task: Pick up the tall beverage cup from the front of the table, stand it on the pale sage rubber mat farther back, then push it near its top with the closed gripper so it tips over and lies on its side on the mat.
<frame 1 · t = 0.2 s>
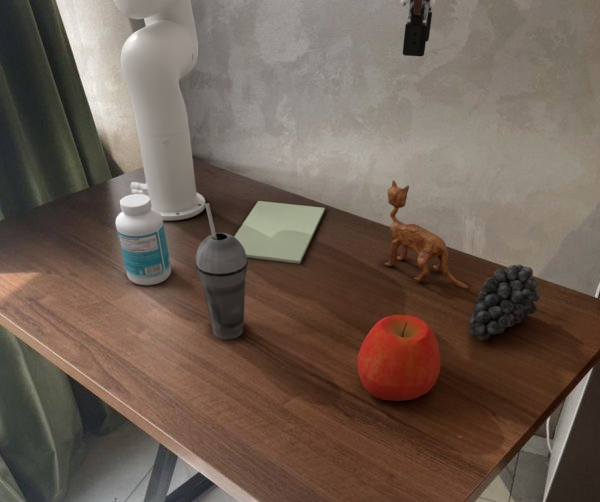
hand: (415, 47, 94), 31 cm above the table, tool pointing down, fingers open, 9 cm apart
pill bottle: (150, 276, 103), on the table
mat: (277, 231, 115), on the table
fruit: (491, 325, 93), on the table
apple: (394, 387, 82), on the table
cat figurine: (422, 275, 104), on the table
beverage cup: (228, 331, 91), on the table
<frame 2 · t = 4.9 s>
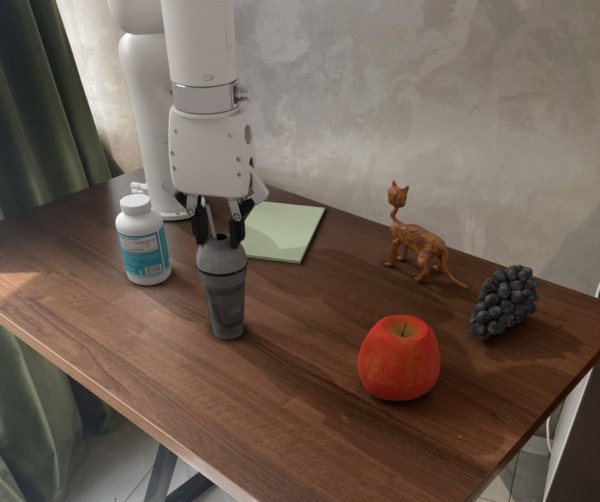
hand: (219, 240, 81), 15 cm above the table, tool pointing down, fingers closed on beverage cup, 4 cm apart
beverage cup: (228, 331, 91), on the table, touching gripper
everything else where it was.
when the fingers open (15 cm above the table, at t = 11.7 s): beverage cup stays where it is, resting on mat.
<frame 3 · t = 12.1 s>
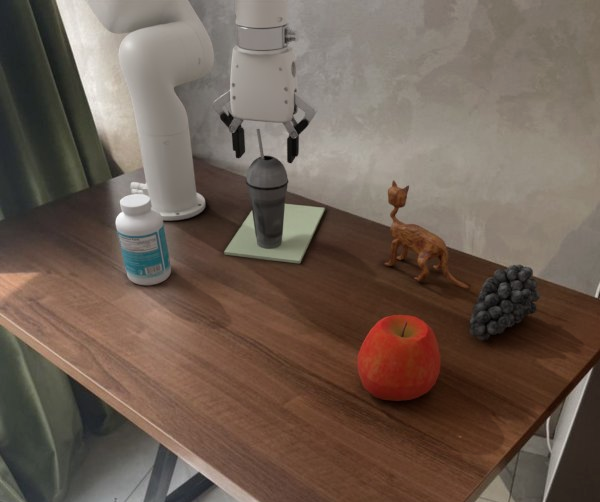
hand: (265, 157, 100), 16 cm above the table, tool pointing down, fingers open, 8 cm apart
beverage cup: (269, 243, 110), resting on mat
everything else where it was.
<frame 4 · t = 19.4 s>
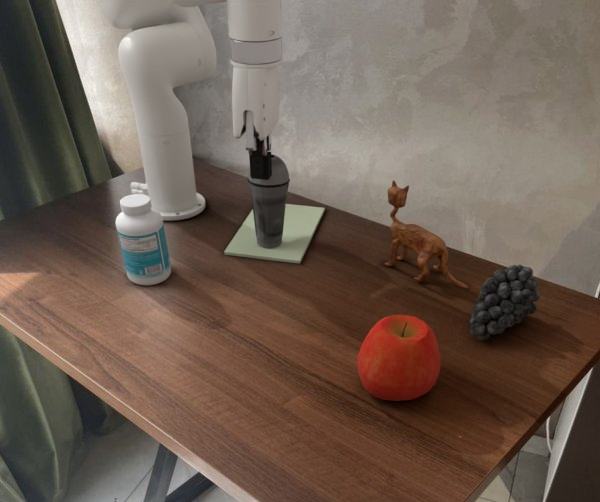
hand: (261, 177, 99), 14 cm above the table, tool pointing down, fingers closed
beverage cup: (269, 243, 110), point 1 cm above the table, touching gripper, mat
everything else where it was.
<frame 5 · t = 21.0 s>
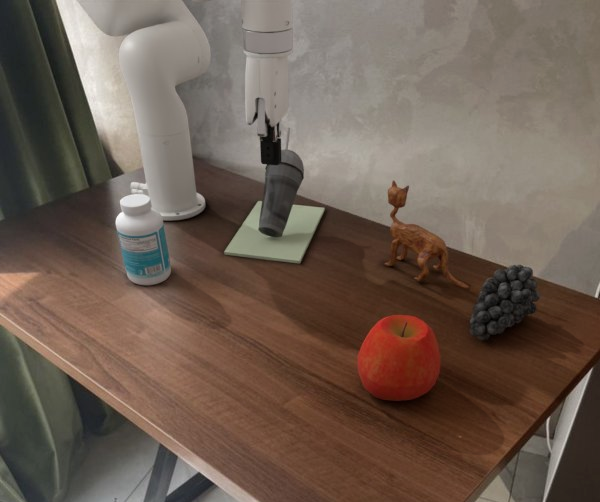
hand: (271, 162, 103), 14 cm above the table, tool pointing down, fingers closed
beverage cup: (270, 233, 110), point 2 cm above the table, touching mat
everything else where it was.
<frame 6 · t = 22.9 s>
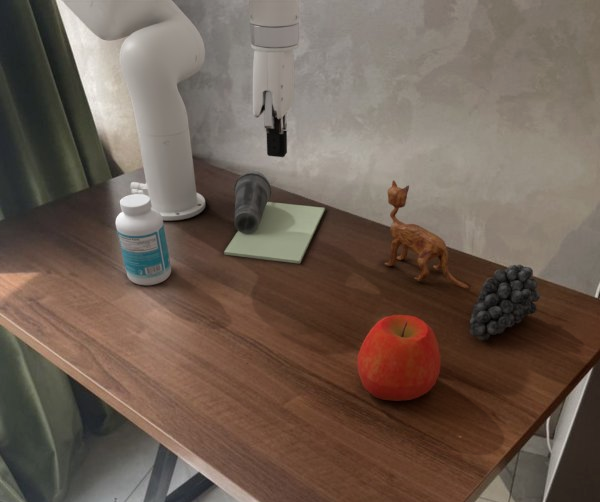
hand: (277, 154, 106), 14 cm above the table, tool pointing down, fingers closed
beverage cup: (246, 224, 111), point 3 cm above the table, touching mat
everything else where it was.
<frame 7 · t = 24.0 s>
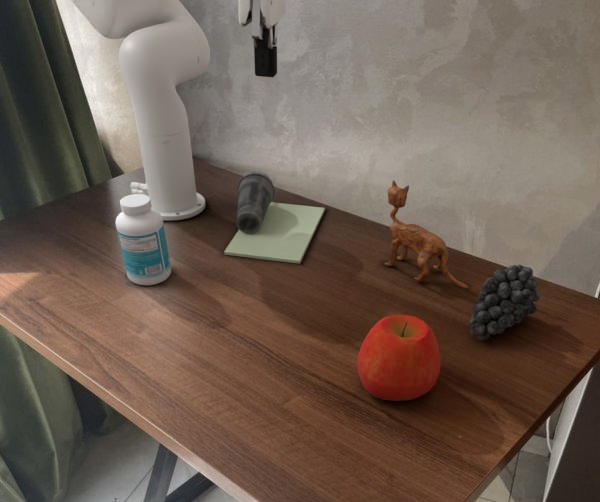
hand: (266, 75, 95), 28 cm above the table, tool pointing down, fingers closed
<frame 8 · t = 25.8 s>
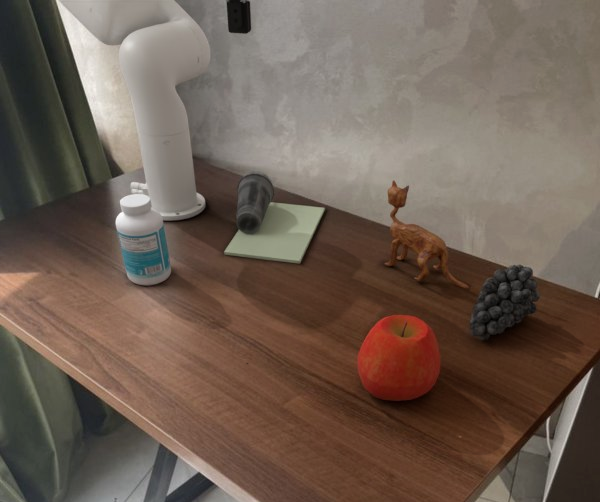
hand: (239, 31, 93), 33 cm above the table, tool pointing down, fingers closed
nothing on the table moved.
at the end: beverage cup tilted 83°; beverage cup inside the target area on the mat (5.4 cm from its centre), point 2.8 cm above the mat's base; the gripper is holding nothing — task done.
